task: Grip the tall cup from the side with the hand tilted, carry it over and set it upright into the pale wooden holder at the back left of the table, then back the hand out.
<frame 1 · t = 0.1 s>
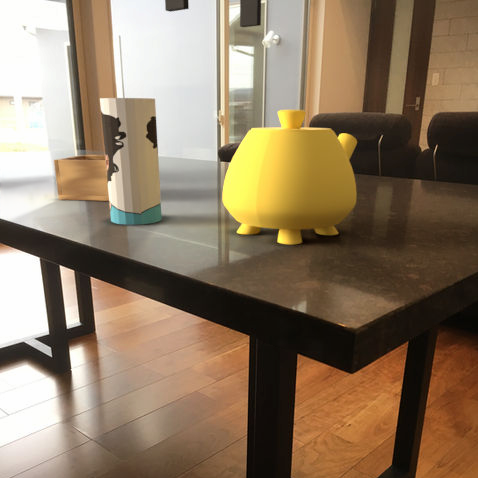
hand: (216, 19, 61), 24 cm above the table, tool pointing down, fingers open, 13 cm apart
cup: (136, 221, 70), on the table
holder: (102, 195, 90), on the table
teapot: (299, 231, 64), on the table
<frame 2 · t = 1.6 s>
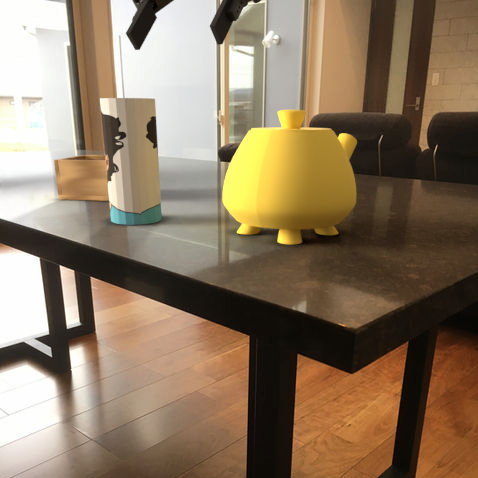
hand: (172, 38, 70), 23 cm above the table, tool tilted 45°, fingers open, 13 cm apart
nothing on the table moved.
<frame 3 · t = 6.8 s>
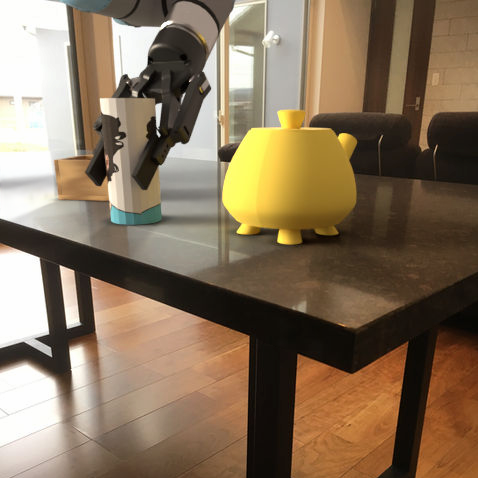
hand: (115, 180, 65), 5 cm above the table, tool tilted 45°, fingers closed on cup, 7 cm apart
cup: (136, 221, 70), on the table, touching gripper
everything else where it was.
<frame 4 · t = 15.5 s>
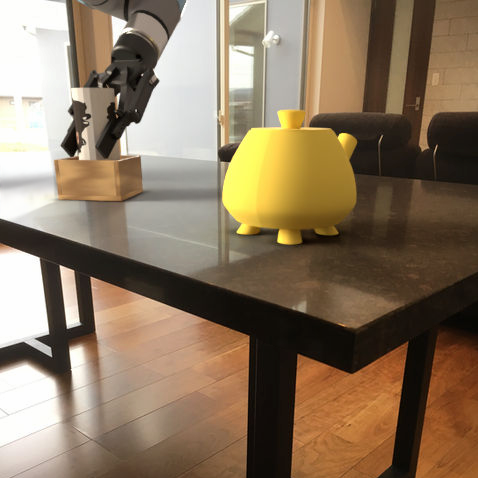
hand: (83, 151, 84), 7 cm above the table, tool tilted 45°, fingers closed on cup, 7 cm apart
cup: (102, 184, 89), point 2 cm above the table, touching gripper
everything else where it was.
when the fingers open (8 cm above the table, at t = 17.3 s): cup drops 1 cm, resting on holder.
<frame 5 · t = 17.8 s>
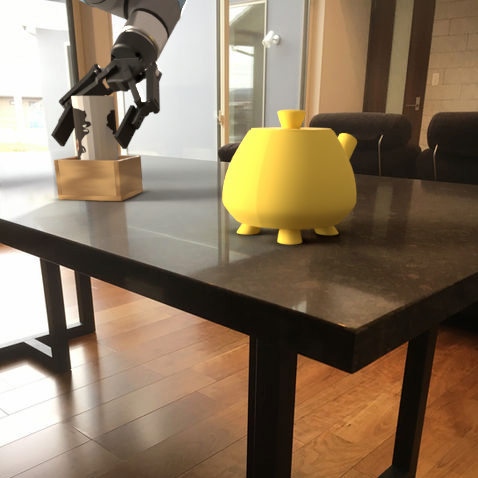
hand: (87, 142, 85), 9 cm above the table, tool tilted 45°, fingers open, 13 cm apart
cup: (102, 191, 90), point 1 cm above the table, touching holder
everything else where it was.
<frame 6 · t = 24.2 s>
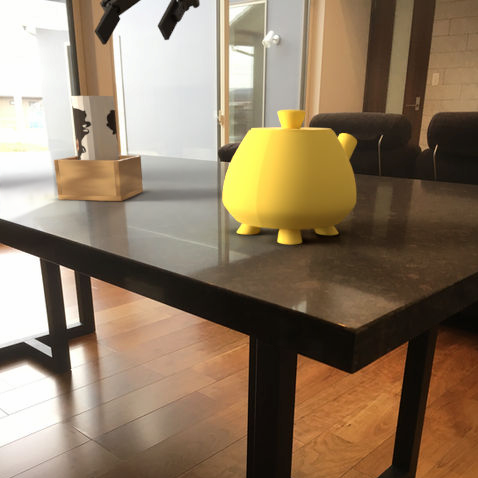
hand: (130, 35, 89), 26 cm above the table, tool tilted 45°, fingers open, 13 cm apart
nothing on the table moved.
at the end: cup 0.1 cm off-centre in the holder, point 0.6 cm above the holder's base; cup tilted 0°; the gripper is holding nothing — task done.
